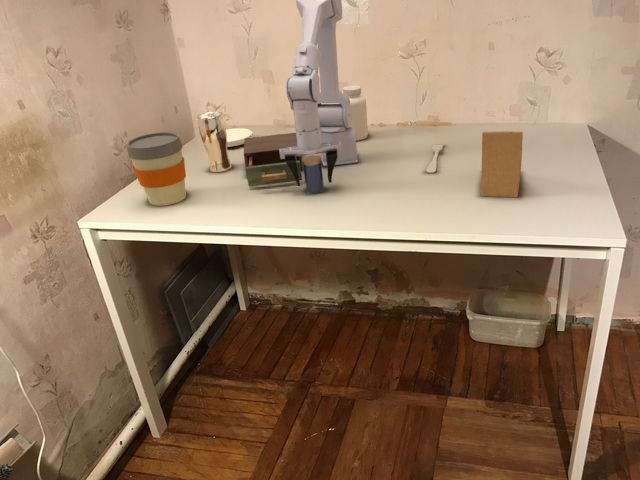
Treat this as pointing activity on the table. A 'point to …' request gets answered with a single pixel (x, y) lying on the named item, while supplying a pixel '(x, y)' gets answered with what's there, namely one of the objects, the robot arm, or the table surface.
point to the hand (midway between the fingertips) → (314, 183)
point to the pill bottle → (357, 111)
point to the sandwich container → (501, 163)
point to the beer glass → (214, 140)
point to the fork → (434, 159)
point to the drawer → (269, 170)
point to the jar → (313, 174)
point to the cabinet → (269, 145)
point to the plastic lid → (237, 136)
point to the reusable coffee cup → (159, 166)
